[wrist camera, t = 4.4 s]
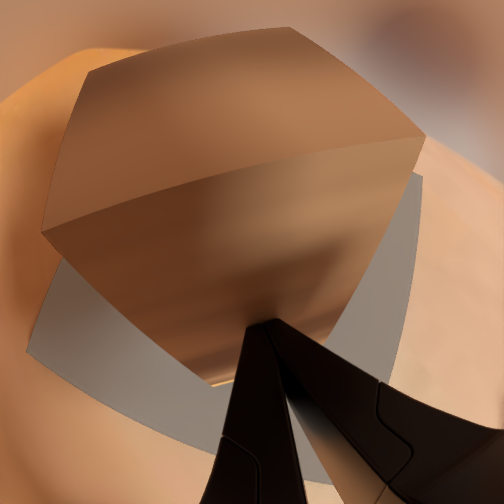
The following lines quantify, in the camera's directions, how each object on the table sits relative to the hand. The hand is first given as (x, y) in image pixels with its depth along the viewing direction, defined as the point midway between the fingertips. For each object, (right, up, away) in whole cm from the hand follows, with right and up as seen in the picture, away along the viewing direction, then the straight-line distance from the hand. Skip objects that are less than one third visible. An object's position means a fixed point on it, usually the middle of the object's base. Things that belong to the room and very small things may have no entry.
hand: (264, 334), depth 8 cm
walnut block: (0, -1, +7) cm, 7 cm away
